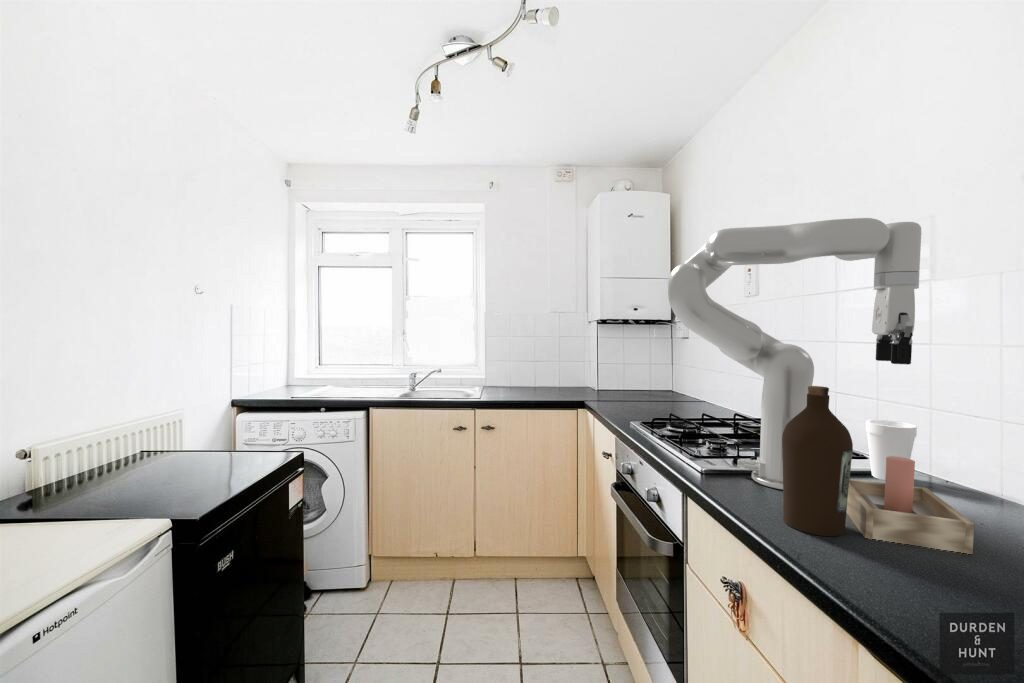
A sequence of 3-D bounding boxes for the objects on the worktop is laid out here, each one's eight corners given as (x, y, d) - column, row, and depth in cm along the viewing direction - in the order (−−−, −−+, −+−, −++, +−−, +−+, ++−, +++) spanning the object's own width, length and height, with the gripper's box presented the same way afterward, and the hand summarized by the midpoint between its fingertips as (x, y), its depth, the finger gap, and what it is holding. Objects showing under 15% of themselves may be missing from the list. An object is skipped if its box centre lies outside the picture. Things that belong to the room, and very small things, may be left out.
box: (865, 538, 80) (866, 509, 80) (838, 502, 97) (839, 477, 97) (972, 555, 75) (974, 523, 75) (925, 513, 92) (926, 487, 91)
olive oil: (775, 527, 84) (780, 387, 83) (782, 509, 93) (787, 381, 92) (849, 544, 78) (855, 393, 77) (849, 523, 87) (855, 386, 86)
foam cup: (910, 476, 115) (913, 422, 114) (917, 487, 107) (920, 429, 106) (862, 469, 120) (864, 418, 119) (865, 479, 112) (867, 424, 111)
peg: (887, 527, 85) (890, 461, 84) (880, 519, 89) (883, 455, 88) (915, 531, 83) (918, 463, 83) (906, 522, 87) (909, 458, 87)
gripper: (862, 285, 110) (859, 359, 111) (888, 278, 95) (884, 364, 95) (902, 285, 108) (899, 360, 108) (936, 278, 92) (931, 366, 92)
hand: (892, 362), depth 102 cm, fingers open, 9 cm apart
